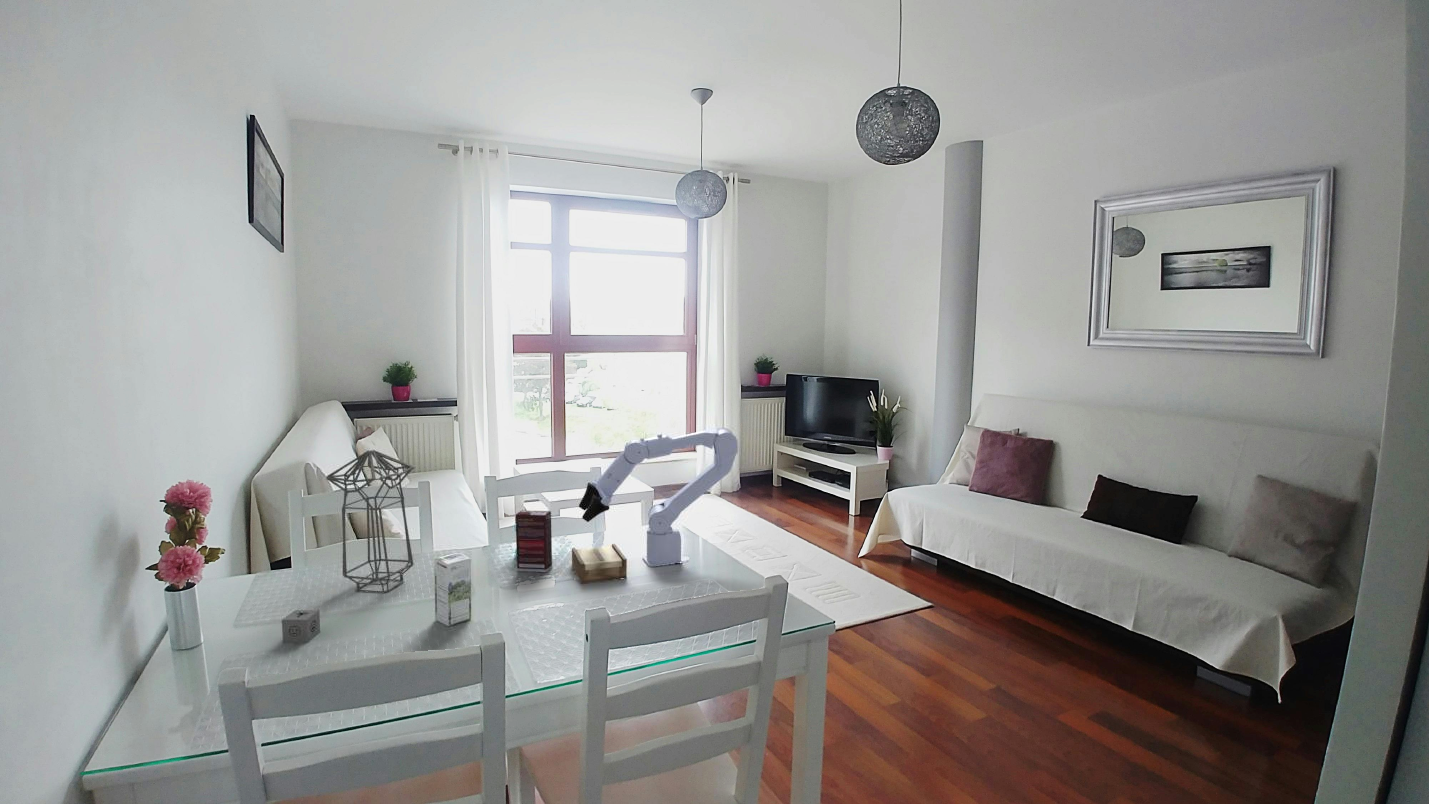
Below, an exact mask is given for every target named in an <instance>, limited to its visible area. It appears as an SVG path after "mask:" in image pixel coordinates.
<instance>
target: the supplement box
mask: <svg viewBox="0 0 1429 804" xmlns="http://www.w3.org/2000/svg"><path fill="white" fill-rule="evenodd" d="M515 525H516V531H515V538H516V540H515V541H516V542H515V543H516V544H515V545H516V547H515V548H517V556H516V571H517V572H525V573H527V572H528V573H529V572H530V573H532V572H533V573H547V572H548V571H550V570H551V569H552V568H553V550H552V548H553V545H552V543H553V541H552V537H553V536H552V511H551V510H550V511H549V510H523V509H522V510H520V511H519V512H516V513H515Z"/></svg>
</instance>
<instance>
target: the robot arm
mask: <svg viewBox="0 0 1429 804" xmlns="http://www.w3.org/2000/svg"><path fill="white" fill-rule="evenodd" d="M639 439H640V440H638V439H637V440H636V439H633V440H630V441H628V442H626V444H625V446H624V448H623V449H624V450H623V451H622V452H620V453H619V455H618V456H617V457H616V458H615V459H614V460H613V461H612V462H611V463H610V465H609V466H608V467H607V469H606V470H605V471H604V472H603V473H602V475H601V476H600V477H598V476H597V477H596V478H595V480H592V481H591V482H587V485H586V490H585V492H584V495H583V496H582V499H581V500H580V502H579V503H578V507H579V508H580V509H581V510H583V511H584V513H583V514H582V517H581V519H582V520H584V521H585V522H587V523H590V522H591V521H592V520H593V519H594V518H596V517H597V516H599V515H600V514H602V513H605V512H606V511H609V510H610V503H611V502H612V498H613V495H614V493H615V492H617V490H618V489H619V487H620V486H621V485H622V484H623V483H624V481H625V480H627V478H628V477H629V475H631V473H632V472H633V470H634V468H635V467H637V464H641V463H643V461H644V460H650V459H652V460H653V459H655V458H661V457H667V456H671V454H672V453H673V451H674V450H678V449H684V448H690V447H691V448H692V447H697V446H703V447H706V448H709V449H710V450H714V453H713V462H712V463H710V465H709V466H707V467H706V468H705V469H704V470H703V471H701V472H700V473H699V474H698V475H697V476H695V477H694V478H693V479H692V480H690V482H688V483H687V484H686V485H684V486H683V487H682V488H681V489H679V490H678V491H677V492H676V493H674V495H672V496H671V497H669V498H666V499H665V500H663V501H662V502H660V503H658V504H657V503H656V504H654V505H652V506H651V507H650V508H649V510H648V527H647V528H646V556H642V560H643V561H644V562H645V563H646V565H648V567H651V568H652V567H661V565H662V566H669V564H671V565H676V564H675V563H680V562H683V561H682V538H681V537H682V536H681V532H680V531H679V530H678V529H677V528H676V529H674V528H673V527H672V524H673V523H674V522H675V521H676V520H678V518H679V516H680V515H681V513H682V512H683V511H685V510H686V509H688V507H689V506H691V504H693V503H694V502H695V501H697V500H698V499H699V498H700V497H701V496H703V495H704V494H705V493H707V492H708V491H709V490H710V489H711V488H712V487H713V486H715V485H716V484H717V483H718V482H720V481H721V480H722V479H723V478H724V477H726V476H727V475H728V474H729V473H730V472H731V470H732V468H733V464H734V462H735V458H736V455H737V454H738V451H739V446H738V445H739V443H738V439H737V436H735V435H734V434H733V432H732V431H731V430H730V429H728V428H726V427H720V428H717V429H716V428H711V429H705V430H699V431H696V432H692V433H689V434H683V435H680V436H675V437H670V436H669V435H667V434H664V435H663V434H662V433H657V435H656V436H653V437H648V438H644V437H640V438H639ZM680 564H681V563H680Z"/></svg>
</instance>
